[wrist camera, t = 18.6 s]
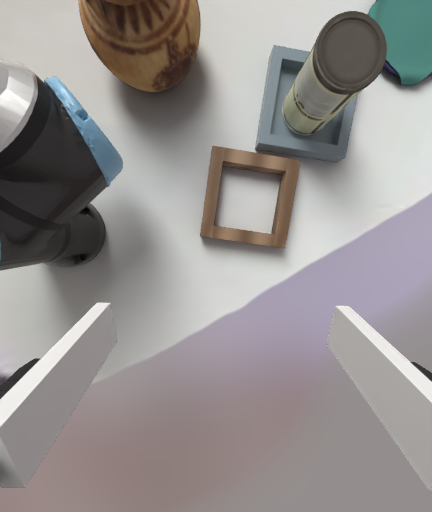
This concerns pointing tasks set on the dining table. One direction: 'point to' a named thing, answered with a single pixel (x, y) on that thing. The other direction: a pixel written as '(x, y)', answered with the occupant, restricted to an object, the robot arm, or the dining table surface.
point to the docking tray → (272, 123)
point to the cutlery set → (406, 37)
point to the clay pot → (143, 39)
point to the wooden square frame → (255, 163)
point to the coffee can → (335, 71)
